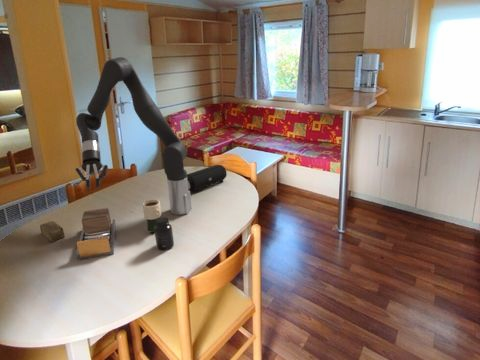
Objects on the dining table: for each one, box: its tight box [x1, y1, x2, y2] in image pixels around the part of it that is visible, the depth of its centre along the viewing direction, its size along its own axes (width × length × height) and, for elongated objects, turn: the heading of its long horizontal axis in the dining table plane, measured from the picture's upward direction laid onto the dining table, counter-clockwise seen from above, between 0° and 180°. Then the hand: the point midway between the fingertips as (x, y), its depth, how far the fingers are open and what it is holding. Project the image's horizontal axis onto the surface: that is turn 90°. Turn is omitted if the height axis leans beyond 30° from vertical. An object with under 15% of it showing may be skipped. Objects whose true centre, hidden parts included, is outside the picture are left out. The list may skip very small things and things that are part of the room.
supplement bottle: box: [153, 216, 175, 251], centre depth 135 cm, size 7×7×12 cm
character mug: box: [142, 198, 162, 233], centre depth 147 cm, size 11×7×13 cm, turn 47°
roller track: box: [75, 219, 117, 261], centre depth 141 cm, size 24×13×7 cm, turn 16°
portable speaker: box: [187, 164, 228, 193], centre depth 191 cm, size 26×10×10 cm, turn 134°
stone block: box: [39, 220, 65, 242], centre depth 146 cm, size 6×12×5 cm, turn 49°
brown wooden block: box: [81, 207, 112, 234], centre depth 145 cm, size 8×10×7 cm
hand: (93, 188), depth 148 cm, fingers open, 2 cm apart
